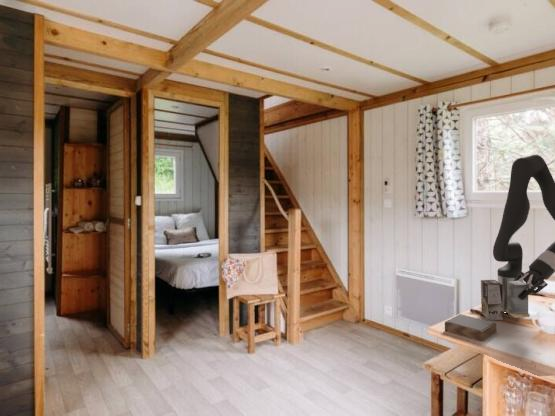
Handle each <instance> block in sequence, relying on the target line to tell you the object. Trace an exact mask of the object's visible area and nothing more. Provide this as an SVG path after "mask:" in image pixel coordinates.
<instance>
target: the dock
mask: <svg viewBox="0 0 555 416" xmlns="http://www.w3.org/2000/svg"><path fill="white" fill-rule="evenodd" d="M445 330H447V331H446V332H448V331H450V332H449V333H452V332H453V333H452V334H455V333H456V334H455V335H458V334H460V335H459V336H462V335H463V336H462V337H465V336H466V338H469V339H472V340H476V341H479V342H483V341H485V340H486V339H487V338H489V337H491V336H492V335H494V334H495V333H497V323H496V322H494V321H490V320H486V319H481V318H478V317H475V316H473V317H472V316H469V315H466V314H461V313H460V314H458V315H456V316H453V317H452V318H449V319H448V320H446V321H444V331H445Z"/></svg>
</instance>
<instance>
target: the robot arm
mask: <svg viewBox="0 0 555 416" xmlns="http://www.w3.org/2000/svg"><path fill="white" fill-rule="evenodd" d="M531 178H533V179H534V180H535V181H536V183H537V185H538V186H539V189H540V193H541V197H542V202H543V205H544V207H545V208H546V210H547V212H548V213H549V215H550V216H551V217H552V219H553V221H555V179H554V177H553V176H552V173H551V171H550V169H549V166H548V164H547V162H546V161H545V159H544V158H543V157H542V156H541V155H539V154H535V153H533V154H528V155H525V156H520V157H518V158H516V159H515V160H514V161H513V163H512V165H511V169H510V181H509V187H508V191H507V197H506V201H505V205H504V208H503V214H502V219H501V223H500V227H499V229H498V232H497V236H496V239H495V242H494V244H493V248H492V256H493V258H494V260H495V261H497V262H499V263H505V262H506V264H505V265H504V266H501V267H499V268H498V269H497V282H499V283H500V284H502V285H503V312H506V310H508V303H507V281H522V282H524V283H526V284H528V286H527V287H526V288H525V290H523V291H522V292H521V293H520V294H519V295H518V297H519V298H520V299H521V300H524V299H525V298H526V297H527V296H528V297H529V295H531V294H533V295H537V294H538V293H539V292H541V291H542V290H543V289H544V288H546V287H547V286H548V285H549V284H548V283H547V282H546V281H545V280H549V278H551V277H552V275H553V274H554V273H555V240H554V241H553V242H552V243H551V244H550V245H549V246H547V248H546V249H545V250H544V251H543V252H542V253H540V254H539V256H537V257H536V259H534V260H533V261H532V263H531V264H530V265H528V269H529V270H527V271H525V272H523V259H524V258H523V256H524V255H523V248H522V245H521V244H520V243H519V242H518V241H511V239H512V237H513V236H514V234H516V233H517V232H518V231H519V230H520V229H521V228H522V227H523V226H524V224H525V223H527V220H528V217H529V213H530V208H531V203H530V199H529V197H528V196H529V195H528V187H529V184H530V181H531Z"/></svg>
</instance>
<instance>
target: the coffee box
mask: <svg viewBox="0 0 555 416" xmlns="http://www.w3.org/2000/svg"><path fill="white" fill-rule="evenodd" d="M480 298H481V299H480V300H481V302H480V303H481V314H482V315H483V317H485V318H486V319H487V321H490V320H491V321H492V320H493V321H503V320H504V313H503V285H502V284H500V283H499V282H498V280H496V279H481V280H480Z"/></svg>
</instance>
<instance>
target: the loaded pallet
mask: <svg viewBox="0 0 555 416" xmlns="http://www.w3.org/2000/svg"><path fill="white" fill-rule="evenodd" d="M527 286H528V284H526V283H525V282H524V281H523V282H522V281H507V303H508V310H506V313H508V314H507V315H510V316H511V317H513V318H515V319H518V318H519V319H521V318H530V317H531V316H530V313H529V295H528V296H527V297H526V298H525V299H524V300H521V299H520V298H519V297H518V295H519V294H520V293H521V292H522V291H523V290H525V288H526V287H527Z"/></svg>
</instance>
